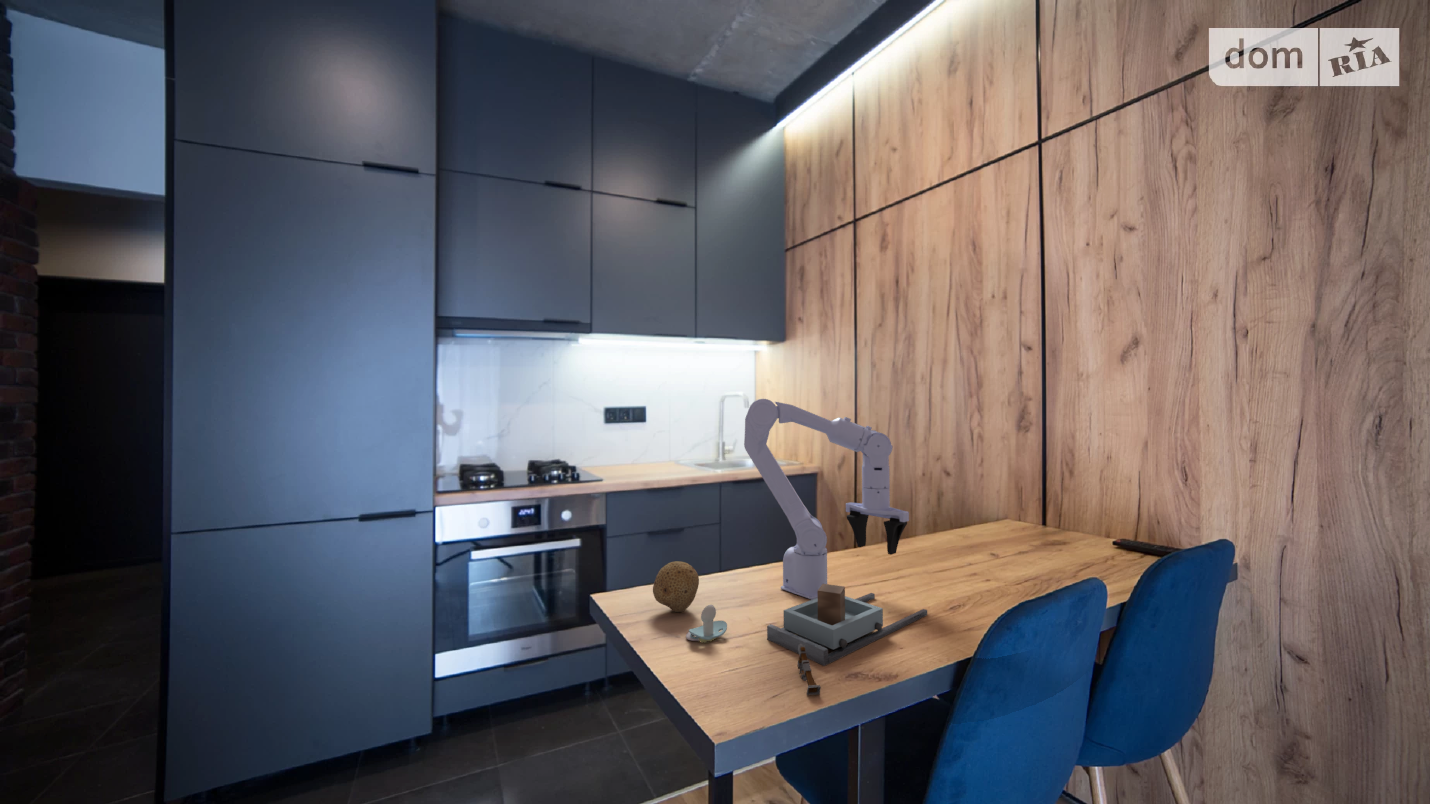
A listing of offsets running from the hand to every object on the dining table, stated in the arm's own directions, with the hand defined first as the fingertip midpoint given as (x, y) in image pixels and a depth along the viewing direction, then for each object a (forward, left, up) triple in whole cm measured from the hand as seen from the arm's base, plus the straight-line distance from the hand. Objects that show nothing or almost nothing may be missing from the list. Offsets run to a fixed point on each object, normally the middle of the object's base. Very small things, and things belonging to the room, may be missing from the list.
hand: (876, 549), depth 117 cm
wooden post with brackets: (+15, -40, -10) cm, 44 cm away
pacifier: (-7, -42, -10) cm, 44 cm away
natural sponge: (-20, -39, -10) cm, 45 cm away
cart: (+7, -24, -8) cm, 26 cm away
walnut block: (+7, -24, -7) cm, 26 cm away
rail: (+7, -18, -9) cm, 21 cm away
